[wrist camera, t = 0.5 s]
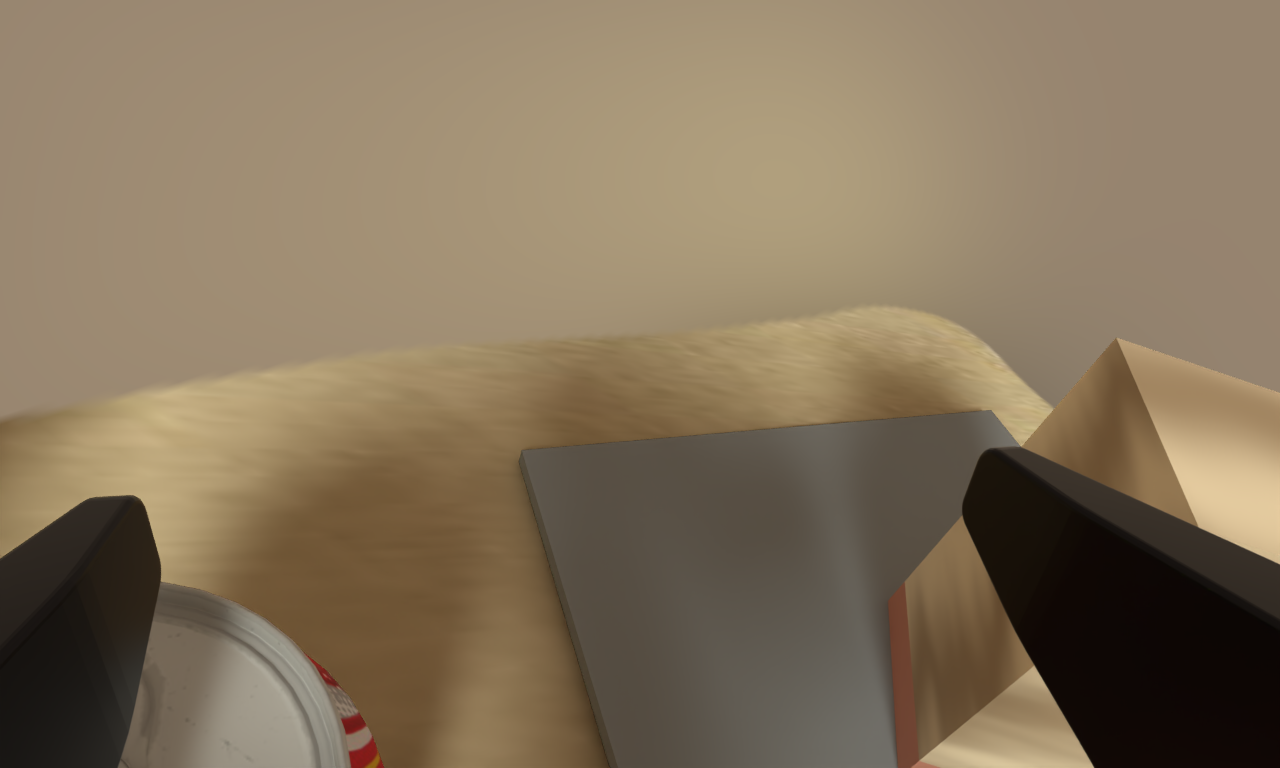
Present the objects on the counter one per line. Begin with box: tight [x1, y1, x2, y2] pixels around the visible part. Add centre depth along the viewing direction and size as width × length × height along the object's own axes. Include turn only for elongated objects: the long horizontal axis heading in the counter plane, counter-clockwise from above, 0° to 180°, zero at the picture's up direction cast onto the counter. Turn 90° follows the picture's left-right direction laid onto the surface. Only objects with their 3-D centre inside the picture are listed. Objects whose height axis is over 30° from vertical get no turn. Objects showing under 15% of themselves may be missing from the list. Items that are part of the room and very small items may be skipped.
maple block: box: [888, 338, 1280, 768], centre depth 22 cm, size 6×6×12 cm
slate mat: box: [519, 410, 1021, 768], centre depth 25 cm, size 26×22×1 cm
